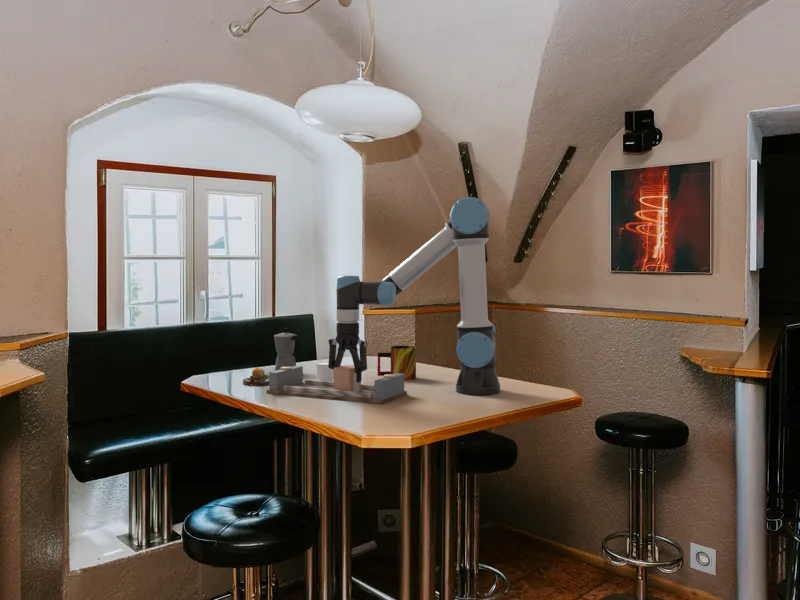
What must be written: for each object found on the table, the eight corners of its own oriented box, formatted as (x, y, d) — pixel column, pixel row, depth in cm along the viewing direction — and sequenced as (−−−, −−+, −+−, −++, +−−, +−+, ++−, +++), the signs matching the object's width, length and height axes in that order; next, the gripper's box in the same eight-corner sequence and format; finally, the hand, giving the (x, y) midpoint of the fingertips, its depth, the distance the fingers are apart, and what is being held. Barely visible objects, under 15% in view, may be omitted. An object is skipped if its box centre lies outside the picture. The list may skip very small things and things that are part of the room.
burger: (282, 382, 255) (282, 362, 255) (262, 387, 245) (261, 367, 244) (256, 380, 261) (256, 360, 260) (235, 385, 250) (235, 364, 250)
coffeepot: (266, 371, 279) (266, 327, 278) (286, 369, 285) (286, 326, 284) (288, 376, 267) (287, 330, 266) (308, 373, 274) (307, 328, 273)
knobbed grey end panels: (405, 391, 230) (405, 372, 230) (384, 400, 216) (384, 379, 215) (294, 382, 249) (294, 364, 248) (268, 389, 234) (268, 370, 234)
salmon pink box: (361, 389, 233) (360, 365, 232) (349, 393, 226) (349, 369, 225) (345, 388, 235) (345, 364, 235) (333, 392, 228) (333, 368, 228)
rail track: (406, 394, 231) (406, 386, 231) (383, 404, 215) (383, 396, 215) (296, 384, 250) (296, 377, 250) (266, 393, 233) (266, 385, 233)
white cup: (331, 384, 251) (331, 364, 250) (313, 383, 252) (313, 364, 252) (337, 380, 258) (337, 362, 257) (319, 380, 259) (319, 361, 259)
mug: (376, 378, 262) (376, 347, 262) (407, 375, 270) (407, 345, 269) (389, 382, 254) (389, 350, 254) (420, 379, 261) (420, 347, 261)
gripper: (378, 322, 229) (378, 391, 230) (328, 319, 237) (328, 386, 238) (368, 324, 222) (367, 395, 223) (317, 321, 230) (317, 390, 231)
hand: (347, 390), depth 230 cm, fingers closed on salmon pink box, 6 cm apart
